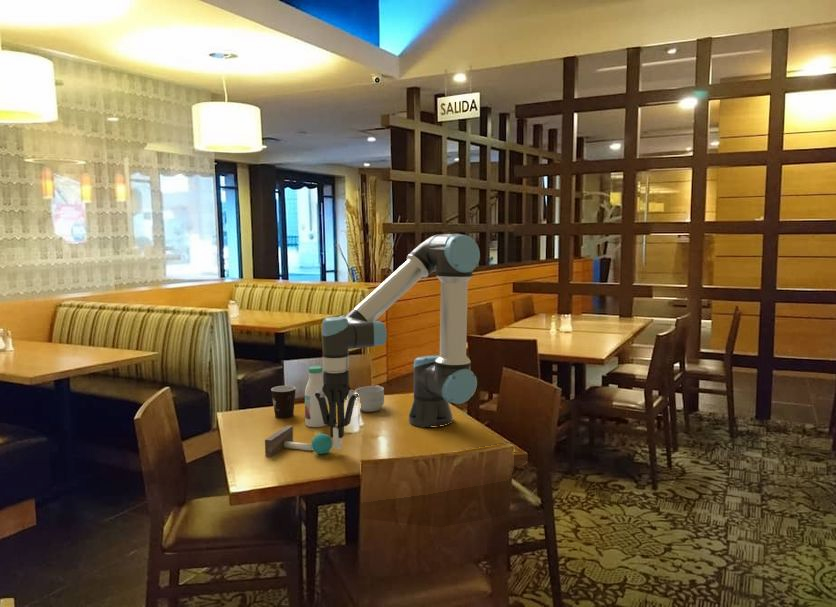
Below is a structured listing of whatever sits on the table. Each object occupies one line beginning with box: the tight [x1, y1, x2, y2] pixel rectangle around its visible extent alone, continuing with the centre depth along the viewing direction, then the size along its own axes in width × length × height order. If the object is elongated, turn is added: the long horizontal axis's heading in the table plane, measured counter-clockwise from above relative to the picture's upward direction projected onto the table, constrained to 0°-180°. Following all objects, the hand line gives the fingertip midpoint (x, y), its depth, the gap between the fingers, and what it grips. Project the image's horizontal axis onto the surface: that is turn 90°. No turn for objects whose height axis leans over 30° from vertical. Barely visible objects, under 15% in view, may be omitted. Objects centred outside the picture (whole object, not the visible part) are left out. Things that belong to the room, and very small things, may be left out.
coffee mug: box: [270, 385, 297, 420], centre depth 226 cm, size 12×9×10 cm
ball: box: [311, 433, 333, 455], centre depth 189 cm, size 6×6×6 cm
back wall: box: [264, 425, 294, 458], centre depth 194 cm, size 2×14×5 cm, turn 165°
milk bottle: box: [304, 365, 329, 428], centre depth 217 cm, size 8×8×20 cm
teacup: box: [354, 385, 385, 413], centre depth 236 cm, size 14×11×8 cm
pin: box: [283, 441, 314, 452], centre depth 194 cm, size 2×2×9 cm
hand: (337, 447), depth 189 cm, fingers closed
